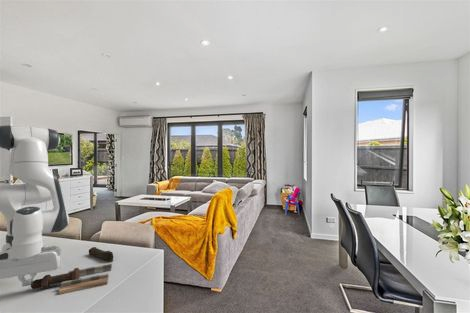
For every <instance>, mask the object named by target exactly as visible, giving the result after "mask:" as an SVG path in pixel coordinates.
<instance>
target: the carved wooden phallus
mask: <svg viewBox="0 0 470 313" xmlns="http://www.w3.org/2000/svg"><path fill="white" fill-rule="evenodd" d="M88 255H90V256H95V257H96V258H97V257H98V258H99V259H100V258H101V259H103V261H105V262H110V263H111V262H114V253H113V252H112V251H111V250H103V249H100V248H97V247H96V246H93V247H90V248H89V249H88Z"/></svg>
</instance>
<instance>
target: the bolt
mask: <svg viewBox="0 0 470 313" xmlns="http://www.w3.org/2000/svg"><path fill="white" fill-rule="evenodd" d="M79 269H80V268H79V267H74V269H73V270H72V271H73V272H69V271H68V272H67V273H62V274H57V275H51V274H46V275H44V276H43V277H42V278H38V279H35V280H34V279H33V282H31V284H32V285H30V288H31V289H32V290H34V289H38V288H41V289H42V290H47V289H49V287H50V286H53V285H57V284H61V283H62V282H65V281H70V280H75V279H80V277H81V276H80V270H79Z"/></svg>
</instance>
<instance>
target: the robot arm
mask: <svg viewBox="0 0 470 313" xmlns="http://www.w3.org/2000/svg"><path fill="white" fill-rule="evenodd" d="M59 134H60V133H58V131H57V130H55V129H51V128H44V127H43V128H42V127H38V126H24V125H22V126H21V125H19V126H17V125H15V126H14V125H12V126H11V124H8V125H0V149H3V150H4V149H5V150H7V151H10V154H9V169H8V173H9V174H10V176H12V177H13V178H15V179H17V180H18V181H21V182H23V183H19V184H18V183H17V184H15V183H14V184H4V185H0V213H1V214H2V215H3V216H4V218H5V223H6V233H7V234H6V235H5V244H4V245H2V247H1V251H0V280H2V279H9V278H14V277H17V279H18V281H20V283H21V287H27V286H31V285H32V284H31V282H33V281H34V279H35V277H36V275H37V274H38V273H44V272H50V271H56V270H57V269H58V268H59V267H60V266H61V264H62V260H61V254H62V253H61V252H62V250H61V248H60V247H59V246H57V245H53V246H47V245H45V240H44V237H43V234H47V233H48V234H49V233H60V232H62V231H63V230H64V229H65V228H67V227H68V225H69V223H70V217H69V213H68V211H67V209H66V206H65V201H64V195H63V190H62V187H61V184H60V179H59V177H58V175H57V174H55V173H53V172H52V171H51V169H50V167H49V154H48V151H52V150H55V149H57V148H58V147H59V144H60V143H61V138H60V135H59ZM49 201H52V206H53V208H52V209H50V210H42V209H41V207H38V206H29V205H35V204H42V203H47V202H49ZM22 206H26V207H23V208H22ZM26 275H29V277H30V278H29V279H26V277H25V276H26Z"/></svg>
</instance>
